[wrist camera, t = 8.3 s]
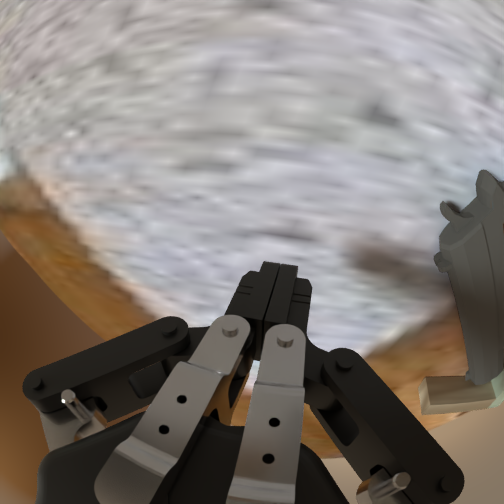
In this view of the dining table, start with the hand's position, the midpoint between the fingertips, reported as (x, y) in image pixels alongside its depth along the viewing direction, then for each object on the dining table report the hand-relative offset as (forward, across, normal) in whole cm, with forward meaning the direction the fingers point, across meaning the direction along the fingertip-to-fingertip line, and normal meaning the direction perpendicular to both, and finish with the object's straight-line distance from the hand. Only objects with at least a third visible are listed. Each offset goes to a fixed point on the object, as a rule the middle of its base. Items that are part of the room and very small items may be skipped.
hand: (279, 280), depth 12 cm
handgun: (+5, -16, 0) cm, 17 cm away
